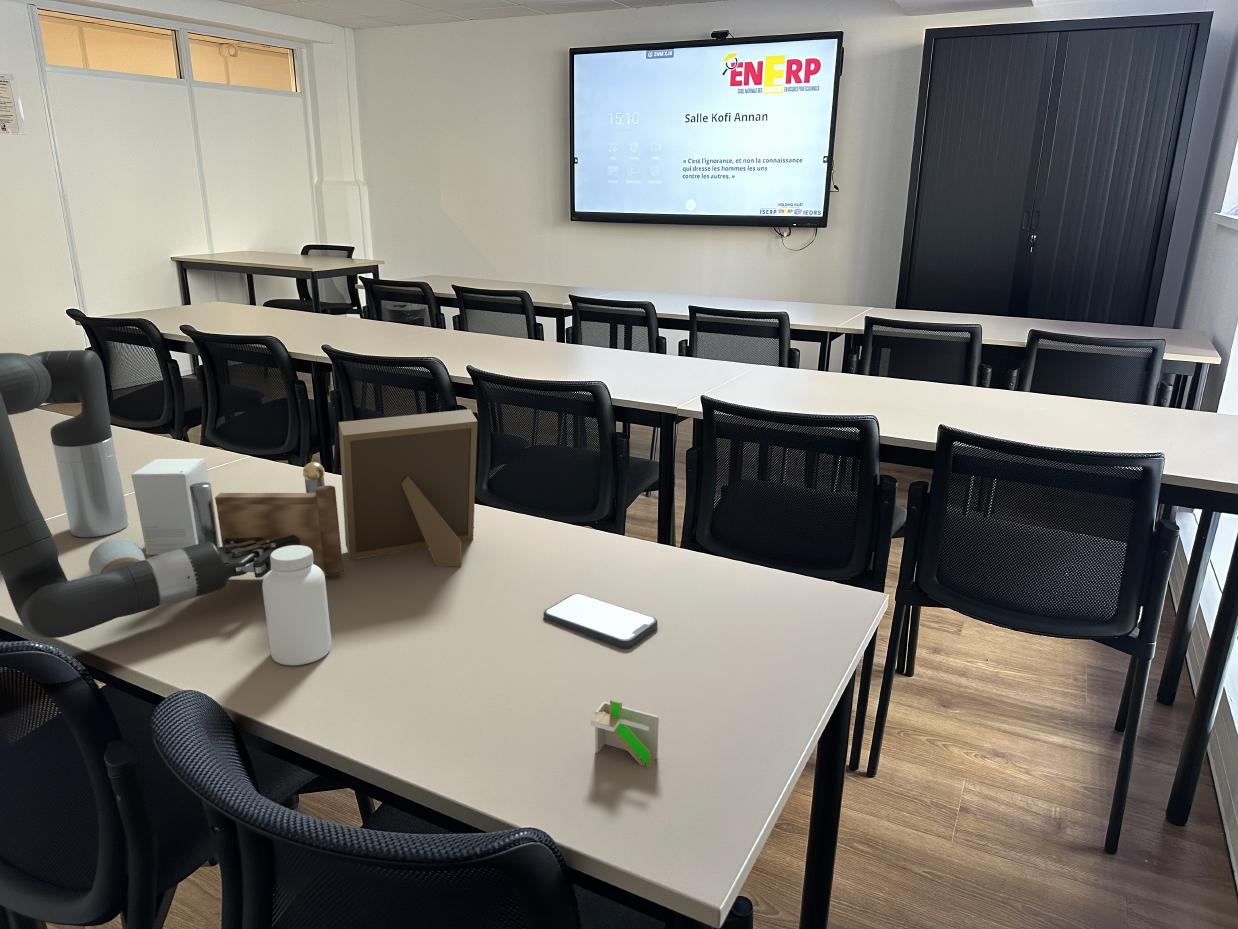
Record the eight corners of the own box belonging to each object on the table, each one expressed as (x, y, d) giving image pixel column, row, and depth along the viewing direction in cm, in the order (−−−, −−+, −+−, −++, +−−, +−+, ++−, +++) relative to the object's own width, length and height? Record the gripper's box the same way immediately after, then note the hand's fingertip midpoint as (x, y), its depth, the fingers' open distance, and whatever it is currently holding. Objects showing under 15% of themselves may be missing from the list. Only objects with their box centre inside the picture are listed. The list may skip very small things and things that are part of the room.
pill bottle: (344, 643, 120) (334, 545, 115) (307, 672, 113) (294, 569, 108) (297, 633, 122) (286, 537, 118) (258, 661, 115) (244, 560, 111)
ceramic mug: (101, 607, 129) (93, 560, 127) (92, 587, 135) (84, 543, 133) (178, 589, 136) (171, 544, 133) (166, 571, 142) (159, 528, 139)
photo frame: (346, 550, 150) (333, 413, 142) (466, 531, 159) (461, 401, 151) (360, 585, 137) (347, 437, 129) (490, 562, 146) (486, 423, 138)
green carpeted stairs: (644, 781, 94) (645, 719, 91) (588, 764, 96) (588, 704, 94) (657, 760, 97) (659, 700, 95) (603, 744, 100) (603, 685, 97)
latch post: (311, 557, 147) (300, 458, 142) (342, 556, 148) (332, 457, 142) (303, 570, 142) (292, 467, 137) (335, 568, 143) (325, 467, 137)
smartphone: (539, 622, 128) (627, 653, 119) (539, 612, 127) (626, 643, 118) (576, 600, 135) (661, 628, 126) (575, 591, 134) (661, 618, 125)
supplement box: (219, 535, 156) (207, 457, 151) (197, 555, 147) (184, 473, 143) (168, 535, 156) (155, 457, 151) (144, 555, 147) (129, 473, 142)
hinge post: (203, 571, 141) (189, 480, 136) (235, 570, 142) (222, 479, 137) (191, 585, 137) (176, 491, 131) (225, 584, 137) (211, 490, 132)
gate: (225, 576, 138) (212, 491, 133) (232, 568, 140) (220, 485, 136) (340, 575, 138) (332, 491, 134) (345, 567, 141) (337, 485, 136)
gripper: (197, 564, 119) (315, 531, 131) (164, 537, 128) (277, 509, 139) (205, 612, 121) (319, 576, 133) (171, 582, 130) (282, 551, 142)
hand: (297, 541), depth 136 cm, fingers closed
